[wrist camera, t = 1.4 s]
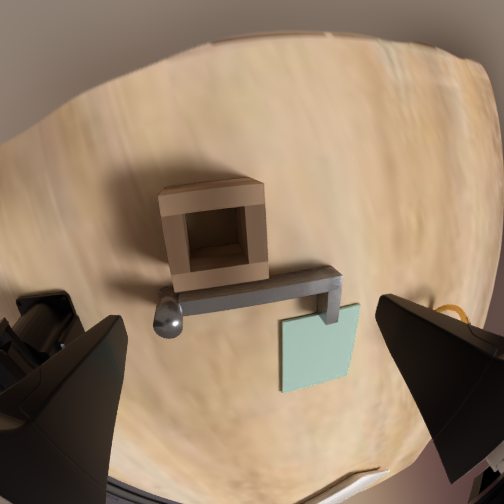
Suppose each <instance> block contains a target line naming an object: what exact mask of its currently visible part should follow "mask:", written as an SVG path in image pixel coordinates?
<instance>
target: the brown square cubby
mask: <svg viewBox="0 0 504 504" xmlns="http://www.w3.org/2000/svg"><path fill="white" fill-rule="evenodd" d="M158 201H159V208H160V215H161V222H162V228H163V234H164V240H165V246H166V251H167V257H168V262H169V267H170V272H171V277H172V282H173V287H174V291H175V292H182V291H189V290H197V289H204V288H211V287H218V286H224V285H231V284H238V283H244V282H251V281H257V280H263V279H269V268H268V248H267V228H266V210H265V192H264V183H262V182H260V181H257V180H255V179H253V178H250V177H248V178H237V179H227V180H218V181H209V182H201V183H193V184H186V185H178V186H171V187H165V188H164V189H163V190H162V192H161V193H160V194H159V195H158ZM232 207H235V209H236V220H237V232H238V244H231V245H223V246H216V247H208V248H201V249H194V250H190V244H189V238H188V231H187V223H186V216H185V213H192V212H200V211H207V210H215V209H224V208H232Z"/></svg>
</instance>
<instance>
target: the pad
mask: <svg viewBox="0 0 504 504" xmlns="http://www.w3.org/2000/svg"><path fill="white" fill-rule="evenodd" d="M359 311H360V304H359V303H358V304H354V305H350V306H346V307H342V308H340V310H339V319H338V322H337V323H333V324H329V325H325V323H324V322H323V321H322V319H321V318H320V317H319V315H318V314H317V313H316V314H312V315H307V316H303V317H298V318H293V319H288V320H283V321H282V393H286V392H290V391H294V390H298V389H302V388H306V387H309V386H313V385H316V384H320V383H323V382H326V381H330V380H333V379H336V378H339V377H342V376H345V375H347V374H348V370H349V365H350V360H351V355H352V351H353V345H354V340H355V335H356V329H357V323H358V317H359Z"/></svg>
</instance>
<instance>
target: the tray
mask: <svg viewBox="0 0 504 504" xmlns="http://www.w3.org/2000/svg"><path fill="white" fill-rule="evenodd" d="M389 471H390V470H389V469H388V470H376V471H375V470H373V471H367V472H361V473H356V474H353V475H352V476H350V477H349V478H347V479H345V480H344V481H342V482H341V483H339V484H337V485H336V486H334V487H332V488H331V489H329V490H327V491H326V492H324V493H322V494H320V495H318V496H317V497H315V498H313V499H311V500H309V501H307V502H305V503H303V504H338V503H340V502H342V501H344V500H346V499H347V498H349V497H351V496H353V495H354V494H356V493H358V492H360V491H361V490H363V489H365V488H366V487H368V486H369V485H371V484H372V483H374V482H376V481H377V480H379V479H380V478H382V477H383V476H384V475H386V474H387V473H388V472H389Z"/></svg>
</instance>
